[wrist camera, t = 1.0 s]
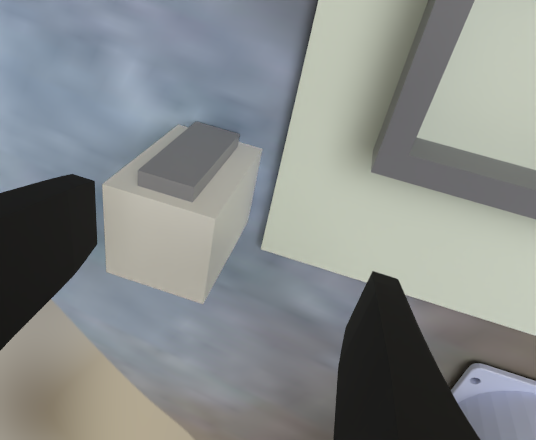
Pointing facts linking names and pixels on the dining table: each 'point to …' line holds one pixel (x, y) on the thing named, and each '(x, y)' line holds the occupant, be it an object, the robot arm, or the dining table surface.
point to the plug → (180, 209)
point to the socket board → (417, 152)
